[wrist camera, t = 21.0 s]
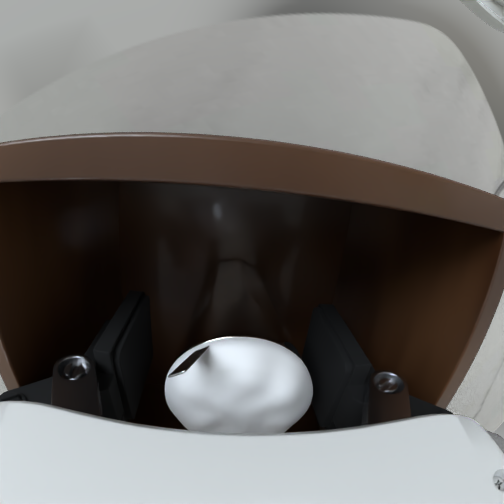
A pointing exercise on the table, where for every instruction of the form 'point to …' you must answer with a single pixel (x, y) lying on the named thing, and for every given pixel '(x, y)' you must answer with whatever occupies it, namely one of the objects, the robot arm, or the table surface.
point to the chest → (241, 251)
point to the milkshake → (237, 360)
